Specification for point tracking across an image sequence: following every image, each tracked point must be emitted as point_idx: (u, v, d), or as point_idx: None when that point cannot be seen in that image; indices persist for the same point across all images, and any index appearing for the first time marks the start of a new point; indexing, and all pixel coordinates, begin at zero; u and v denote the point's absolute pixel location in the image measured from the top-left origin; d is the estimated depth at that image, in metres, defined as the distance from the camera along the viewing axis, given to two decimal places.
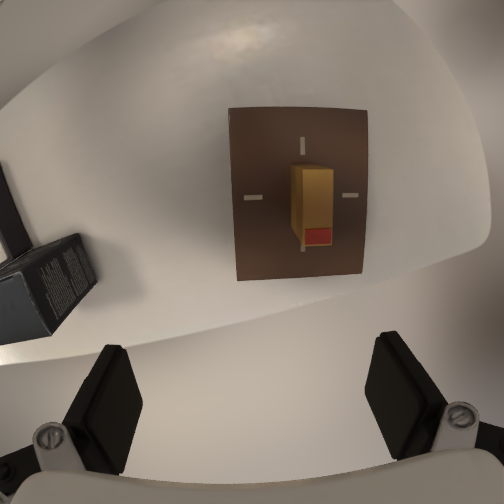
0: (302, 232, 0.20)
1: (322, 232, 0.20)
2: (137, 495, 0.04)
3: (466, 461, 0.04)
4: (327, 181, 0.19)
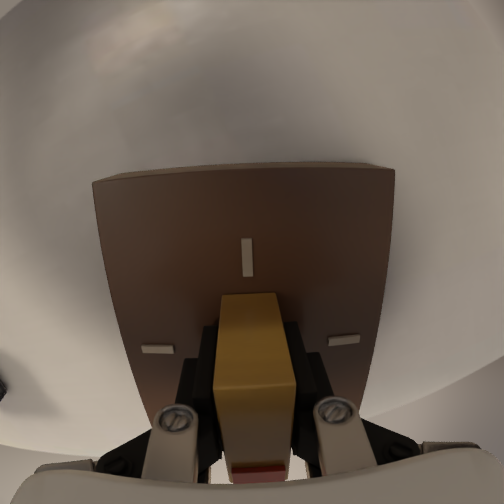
0: None
1: (266, 475, 0.08)
2: (137, 496, 0.04)
3: (466, 461, 0.04)
4: (279, 406, 0.07)
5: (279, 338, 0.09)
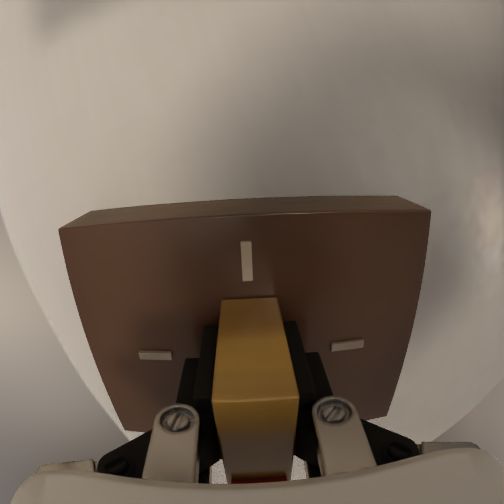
0: None
1: None
2: (137, 495, 0.04)
3: (466, 461, 0.04)
4: (280, 419, 0.07)
5: (281, 347, 0.08)
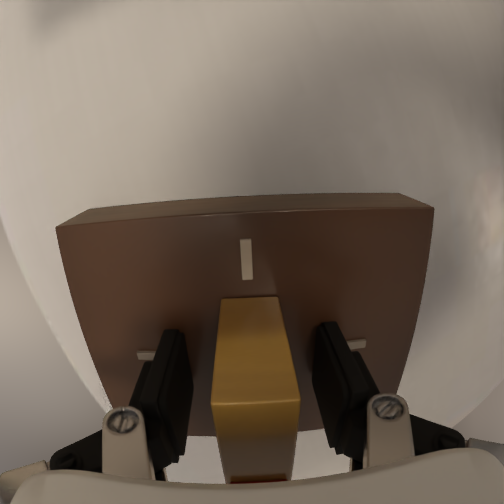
0: None
1: None
2: (137, 495, 0.04)
3: (466, 461, 0.04)
4: (281, 422, 0.07)
5: (282, 347, 0.08)
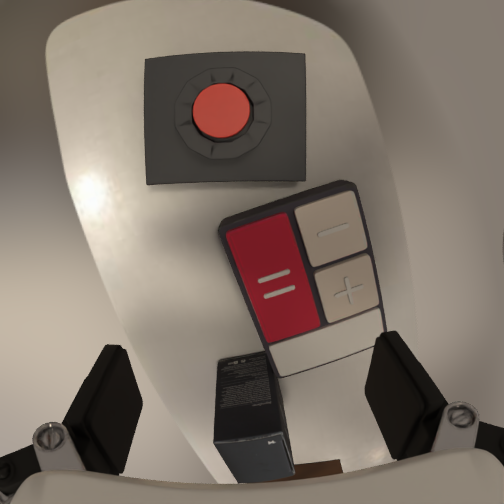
0: None
1: None
2: (137, 496, 0.04)
3: (466, 461, 0.04)
4: None
5: None
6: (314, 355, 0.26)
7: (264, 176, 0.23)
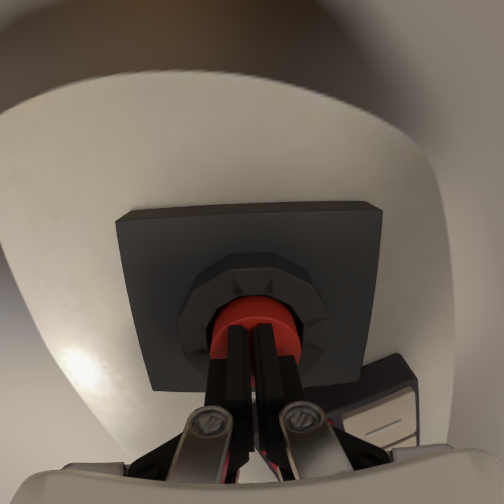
0: None
1: None
2: (137, 495, 0.04)
3: (466, 461, 0.04)
4: None
5: None
6: None
7: (308, 383, 0.16)
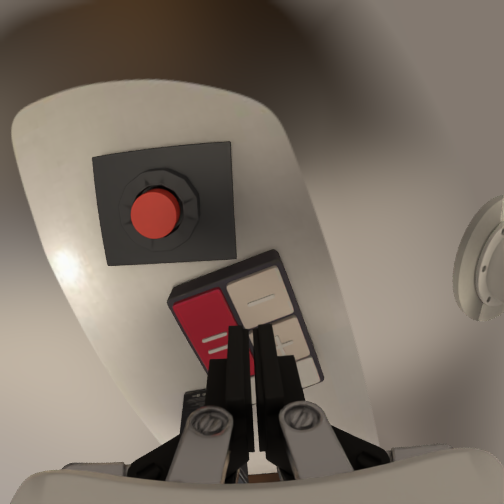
0: None
1: None
2: (137, 495, 0.04)
3: (466, 461, 0.04)
4: None
5: None
6: None
7: (201, 257, 0.27)
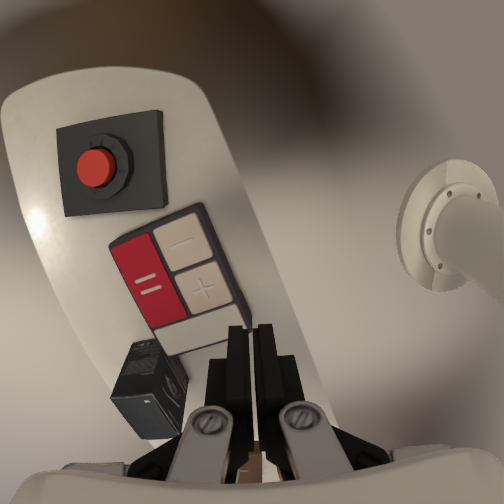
0: None
1: None
2: (137, 496, 0.04)
3: (466, 461, 0.04)
4: None
5: None
6: (189, 339, 0.34)
7: (135, 207, 0.31)
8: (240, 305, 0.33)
